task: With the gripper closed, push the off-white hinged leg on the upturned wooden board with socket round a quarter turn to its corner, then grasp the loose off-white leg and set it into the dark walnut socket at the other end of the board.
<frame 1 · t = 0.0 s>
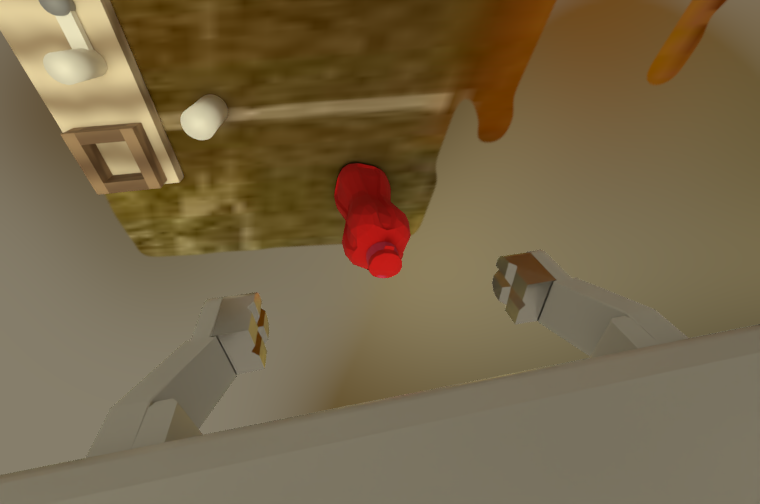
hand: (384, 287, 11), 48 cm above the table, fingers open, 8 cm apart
loose leg: (213, 108, 49), on the table
wooden board with socket: (102, 93, 45), on the table
water bottle: (358, 189, 61), on the table
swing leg: (63, 37, 37), point 6 cm above the table, hinge at 0.0°
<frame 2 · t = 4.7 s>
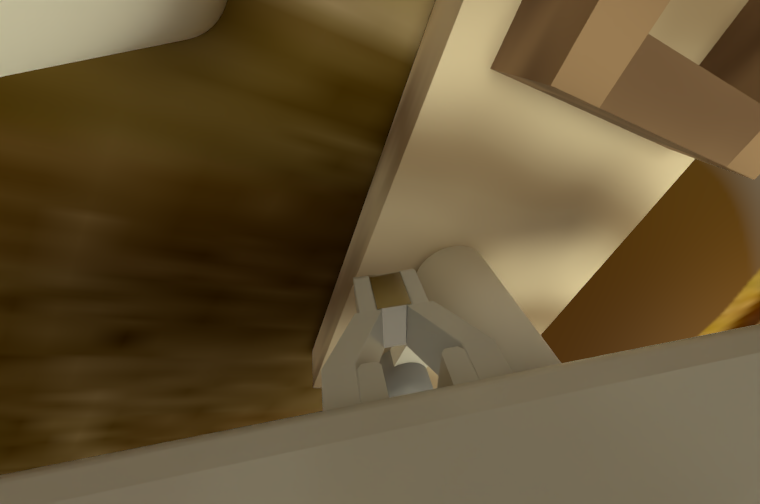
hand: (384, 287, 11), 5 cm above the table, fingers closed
wooden board with socket: (503, 180, 15), on the table
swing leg: (447, 377, 13), point 6 cm above the table, hinge at -0.3°, touching gripper
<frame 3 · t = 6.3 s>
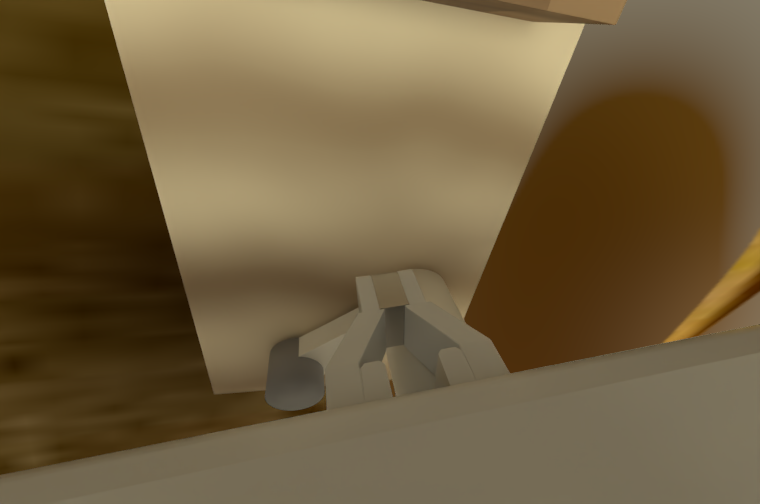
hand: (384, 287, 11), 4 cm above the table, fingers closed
wooden board with socket: (352, 120, 12), on the table
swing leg: (365, 390, 12), point 6 cm above the table, hinge at -54.3°, touching gripper
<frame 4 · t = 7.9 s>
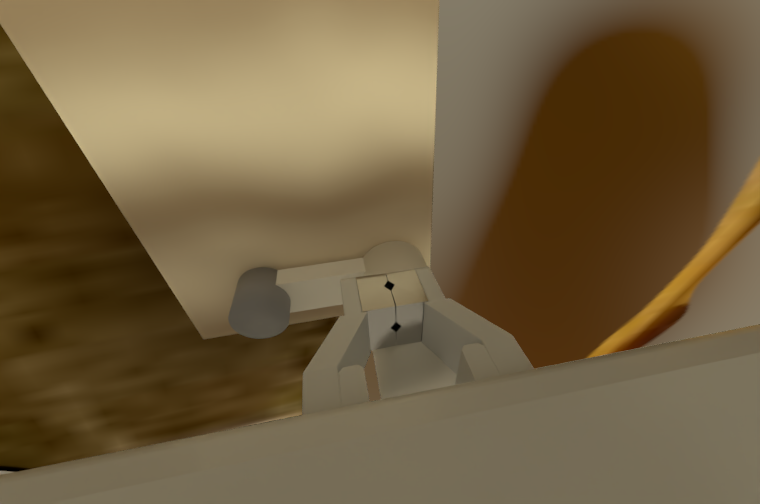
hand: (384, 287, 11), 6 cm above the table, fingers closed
wooden board with socket: (250, 17, 11), on the table
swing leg: (337, 329, 13), point 6 cm above the table, hinge at -90.8°, touching gripper
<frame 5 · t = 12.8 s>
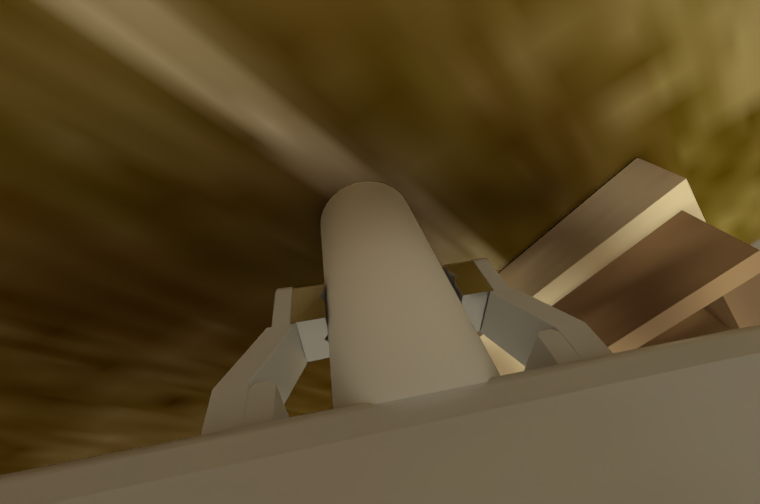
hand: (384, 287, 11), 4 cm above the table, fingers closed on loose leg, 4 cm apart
loose leg: (366, 223, 14), on the table, touching gripper
wooden board with socket: (491, 355, 22), on the table
when the fingers open (7 cm above the table, at t = 18.4 s): loose leg stays where it is, resting on wooden board with socket.
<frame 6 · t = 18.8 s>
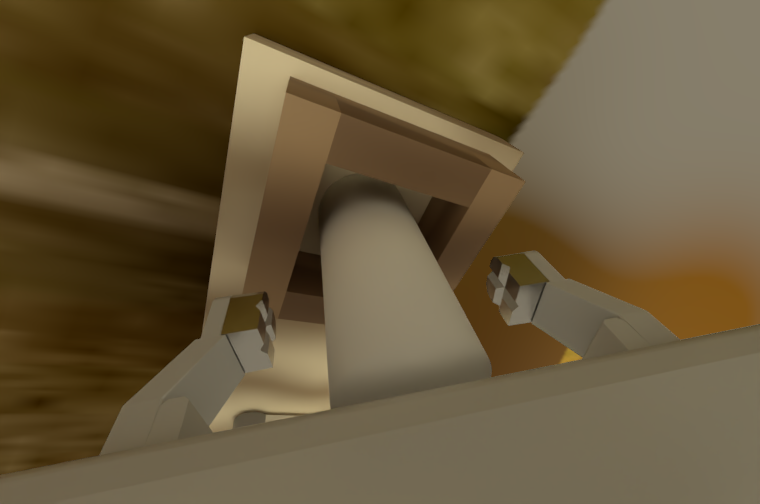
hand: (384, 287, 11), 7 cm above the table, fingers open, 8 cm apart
loose leg: (362, 213, 15), point 2 cm above the table, touching wooden board with socket
wooden board with socket: (316, 300, 21), on the table
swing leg: (295, 469, 22), point 6 cm above the table, hinge at -90.9°
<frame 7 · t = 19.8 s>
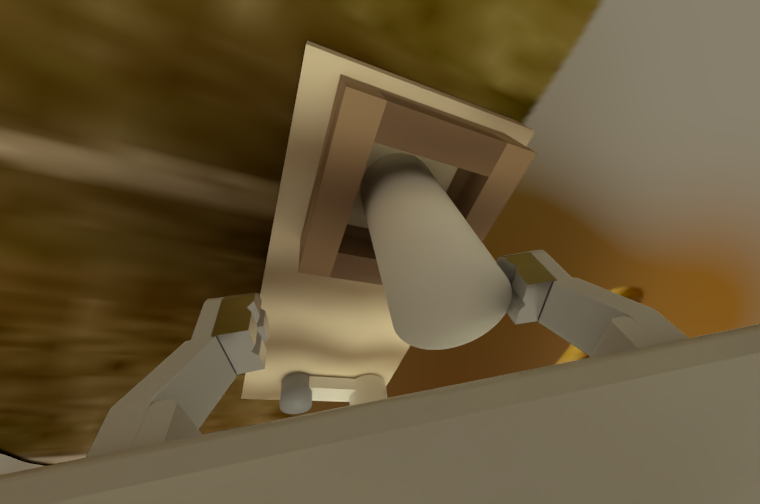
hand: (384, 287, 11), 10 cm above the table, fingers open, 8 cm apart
loose leg: (396, 189, 18), point 2 cm above the table, touching gripper
wooden board with socket: (352, 272, 24), on the table
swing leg: (337, 422, 25), point 6 cm above the table, hinge at -90.9°
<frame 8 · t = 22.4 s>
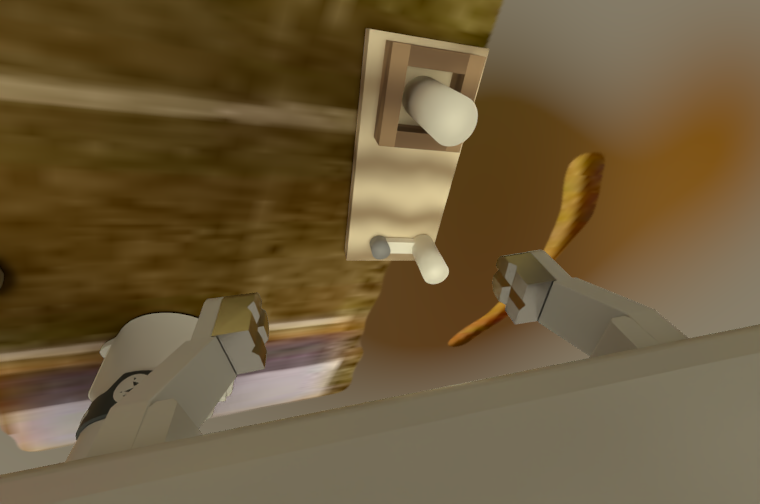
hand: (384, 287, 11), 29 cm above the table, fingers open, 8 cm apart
loose leg: (421, 97, 33), point 2 cm above the table, touching wooden board with socket
wooden board with socket: (401, 164, 39), on the table
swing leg: (407, 258, 41), point 6 cm above the table, hinge at -90.9°
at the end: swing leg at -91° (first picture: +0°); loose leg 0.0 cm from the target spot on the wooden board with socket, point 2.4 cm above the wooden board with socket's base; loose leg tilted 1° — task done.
